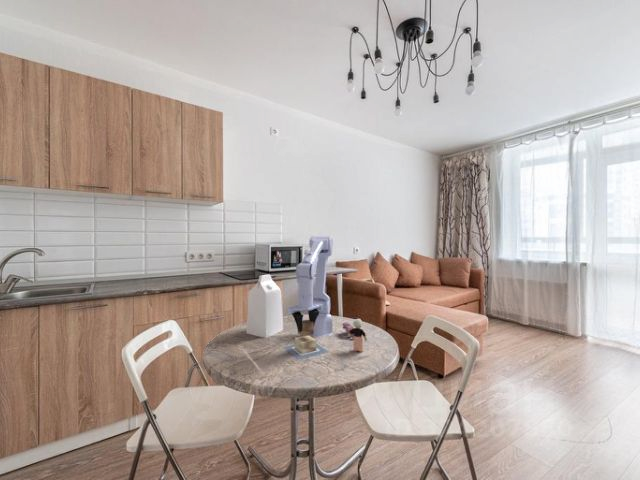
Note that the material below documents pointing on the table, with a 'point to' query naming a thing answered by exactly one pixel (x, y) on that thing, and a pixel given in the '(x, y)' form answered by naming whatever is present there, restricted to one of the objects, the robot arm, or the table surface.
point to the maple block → (305, 344)
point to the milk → (265, 308)
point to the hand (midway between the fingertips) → (305, 330)
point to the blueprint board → (299, 355)
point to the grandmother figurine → (358, 336)
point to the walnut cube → (307, 328)
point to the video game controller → (348, 328)
